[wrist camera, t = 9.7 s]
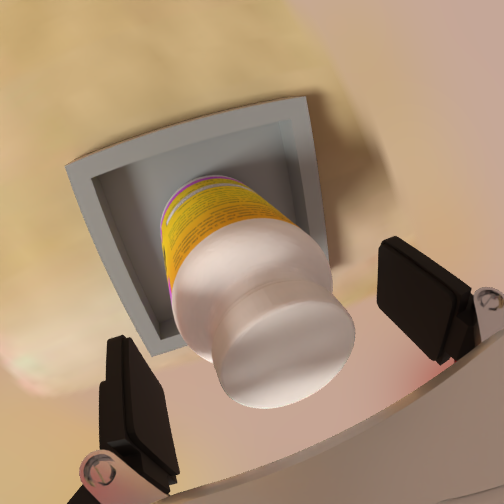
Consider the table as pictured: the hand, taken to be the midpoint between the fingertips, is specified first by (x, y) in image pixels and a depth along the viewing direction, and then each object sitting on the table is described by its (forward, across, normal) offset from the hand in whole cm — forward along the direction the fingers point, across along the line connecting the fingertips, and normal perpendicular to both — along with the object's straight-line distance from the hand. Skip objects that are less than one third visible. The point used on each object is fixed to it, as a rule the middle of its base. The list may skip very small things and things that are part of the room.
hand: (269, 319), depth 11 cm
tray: (+12, 0, +1) cm, 12 cm away
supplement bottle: (+11, 0, +1) cm, 11 cm away
